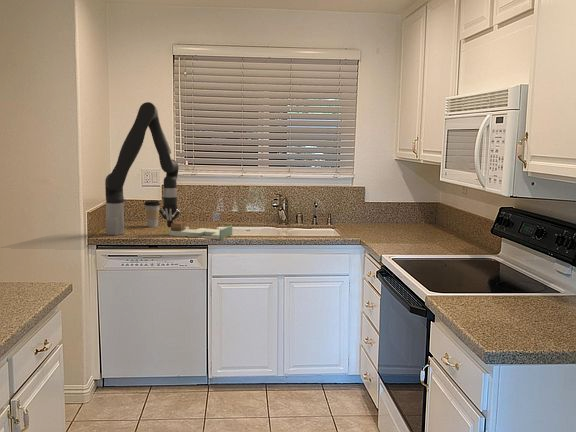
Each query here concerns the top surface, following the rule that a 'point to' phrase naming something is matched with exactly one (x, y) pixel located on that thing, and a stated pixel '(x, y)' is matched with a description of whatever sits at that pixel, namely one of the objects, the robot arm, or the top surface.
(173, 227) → the walnut block
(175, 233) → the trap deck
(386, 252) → the top surface
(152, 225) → the coffee cup
